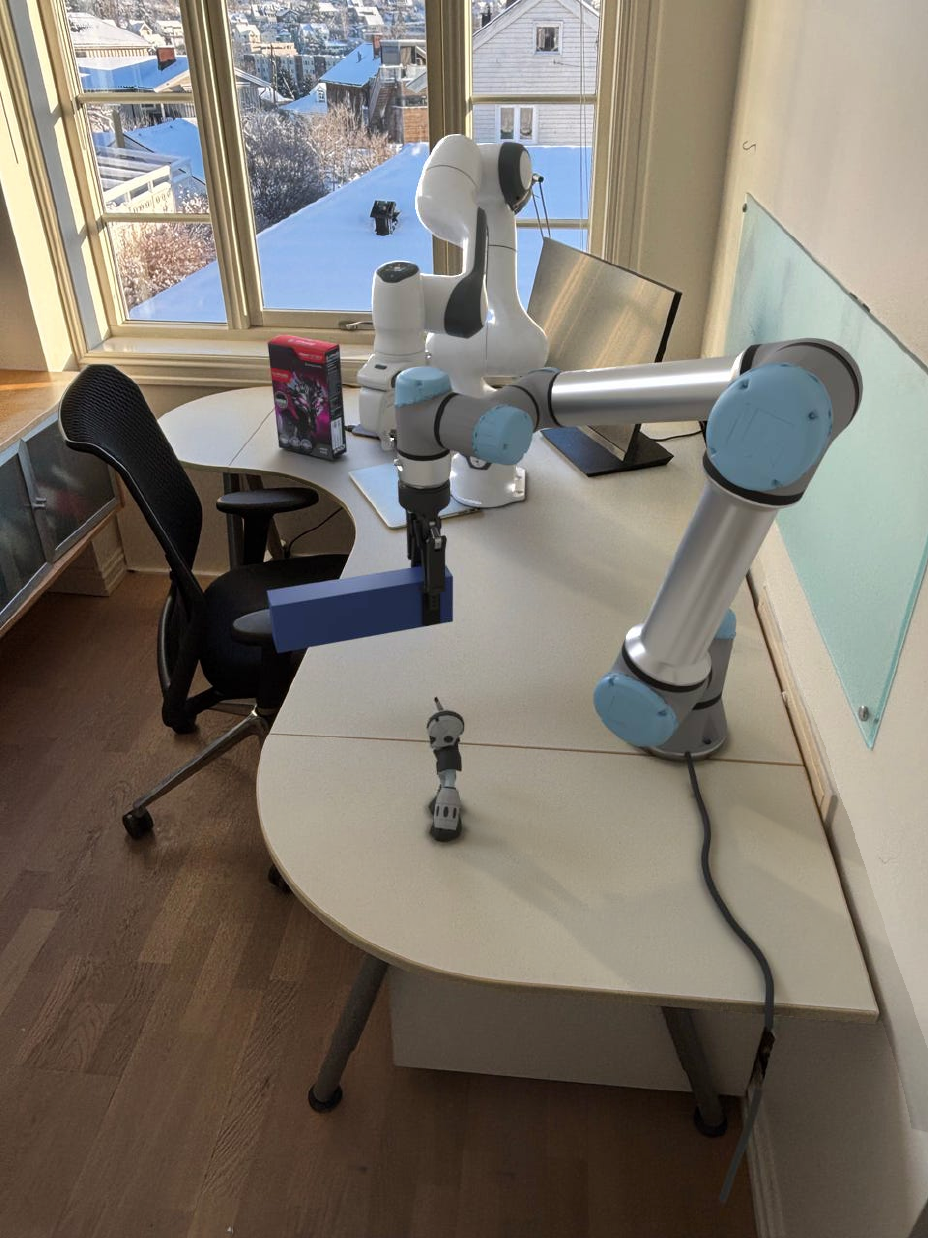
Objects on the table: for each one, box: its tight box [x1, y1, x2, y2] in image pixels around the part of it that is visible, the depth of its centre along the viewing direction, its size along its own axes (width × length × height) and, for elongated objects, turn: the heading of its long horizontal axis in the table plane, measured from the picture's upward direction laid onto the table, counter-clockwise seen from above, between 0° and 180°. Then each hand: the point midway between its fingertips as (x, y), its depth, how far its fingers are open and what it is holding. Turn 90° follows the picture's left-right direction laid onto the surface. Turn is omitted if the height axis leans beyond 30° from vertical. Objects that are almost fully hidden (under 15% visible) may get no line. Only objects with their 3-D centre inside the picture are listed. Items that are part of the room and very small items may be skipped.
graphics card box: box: [267, 333, 348, 461], centre depth 223 cm, size 17×7×27 cm, turn 62°
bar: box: [266, 563, 454, 654], centre depth 140 cm, size 27×4×8 cm, turn 109°
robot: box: [425, 696, 465, 842], centre depth 121 cm, size 20×5×20 cm, turn 3°
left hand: (402, 439), depth 166 cm, fingers open, 8 cm apart
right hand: (426, 614), depth 144 cm, fingers closed on bar, 4 cm apart
